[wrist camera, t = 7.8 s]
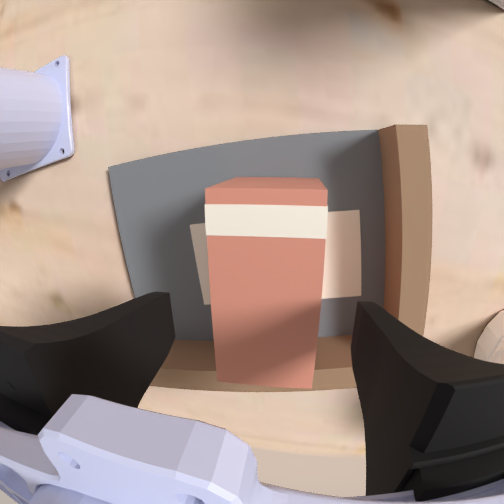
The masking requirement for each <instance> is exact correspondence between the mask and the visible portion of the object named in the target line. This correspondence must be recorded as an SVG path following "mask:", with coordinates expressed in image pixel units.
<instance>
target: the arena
mask: <svg viewBox="0 0 504 504" xmlns="http://www.w3.org/2000/svg"><path fill="white" fill-rule="evenodd" d="M108 169H109V176H110V182H111V189H112V195H113V200H114V206H115V211H116V217H117V222H118V227H119V232H120V237H121V241H122V246H123V250H124V255H125V259H126V264H127V268H128V272H129V276H130V280H131V284H132V288H133V292H134V295H135V298H137V297H140V296H142V295H145V294H148V293H151V292H156V291H157V292H169V293H170V300H171V308H172V315H173V322H174V329H175V336H176V337H175V339H174V342H173V344H172V347H171V349H170V352H169V354H168V356H167V358H166V359H165V361H164V363H163V364H162V366H161V368H160V369H159V371H158V372H157V374H156V376H155V377H154V379H153V380H152V382H151V384H150V385H149V386H157V387H167V388H178V389H191V390H208V391H232V392H292V391H315V390H332V389H345V388H356V387H357V386H356V382H355V378H354V373H353V369H352V359H351V348H350V347H351V341H352V335H353V328H354V322H355V315H356V307H357V301H369V302H375V303H376V304H378V305H379V306H381V307H382V308H383V309H385V310H386V311H387V312H389V313H390V314H391V315H392V316H394V317H395V318H396V319H398V320H399V321H400V322H402V323H403V324H405V325H406V326H407V327H409V328H410V329H412V330H414V331H415V332H417V333H418V334H420V335H421V336H423V334H424V327H425V319H426V311H427V303H428V293H429V282H430V268H431V250H432V181H431V163H430V150H429V139H428V129H427V125H393V126H390V127H386V128H383V129H380V130H360V131H339V132H324V133H311V134H299V135H289V136H279V137H270V138H262V139H254V140H246V141H239V142H232V143H225V144H219V145H212V146H206V147H200V148H195V149H189V150H184V151H178V152H173V153H168V154H163V155H158V156H154V157H149V158H144V159H140V160H136V161H131V162H127V163H123V164H119V165H115V166H111V167H108ZM235 177H299V178H319V179H320V181H321V182H322V183H323V185H324V186H325V187H326V189H327V190H328V193H327V206H328V218H327V239H326V242H325V259H324V274H323V288H322V300H321V311H320V322H319V332H318V341H317V351H316V359H315V368H314V376H313V383H312V389H305V388H284V387H269V386H256V385H245V384H235V383H226V382H217V371H216V361H215V349H214V337H213V325H212V312H211V298H210V283H209V266H208V249H207V235H206V226H205V188H208V187H210V186H213V185H216V184H219V183H221V182H224V181H227V180H230V179H232V178H235Z"/></svg>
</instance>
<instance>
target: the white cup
mask: <svg viewBox="0 0 504 504" xmlns="http://www.w3.org/2000/svg"><path fill="white" fill-rule="evenodd" d="M474 358H476V359H480V360H483V361H488V362H493V363H499V364H504V310H502V311H500V312H499V313H498V314H497V315H496V316H495V317H494V318H493V319H492V320H491V321H490V322H489V323H488V324H487V325H486V327H485V329H484V331H483V332H482V334H481V336H480V338H479V339H478V341H477V345H476V349H475V353H474Z"/></svg>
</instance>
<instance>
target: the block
mask: <svg viewBox="0 0 504 504" xmlns="http://www.w3.org/2000/svg"><path fill="white" fill-rule="evenodd" d="M327 193H328V190H327V189H326V187H325V186H324V185H323V183H322V182H321V181H320V179H319V178H299V177H235V178H232V179H230V180H227V181H224V182H221V183H219V184H216V185H213V186H210V187H208V188H205V226H206V235H207V249H208V266H209V283H210V298H211V312H212V325H213V337H214V349H215V361H216V371H217V382H226V383H235V384H245V385H256V386H269V387H284V388H305V389H312V383H313V376H314V368H315V359H316V351H317V341H318V332H319V322H320V311H321V300H322V288H323V274H324V259H325V242H326V239H327V218H328V206H327Z"/></svg>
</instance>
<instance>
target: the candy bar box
mask: <svg viewBox="0 0 504 504" xmlns="http://www.w3.org/2000/svg"><path fill="white" fill-rule="evenodd" d="M487 1H489V2H491V3H492V4H494V5H496V6H498V7H500V8H501V9H503V10H504V0H487Z"/></svg>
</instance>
